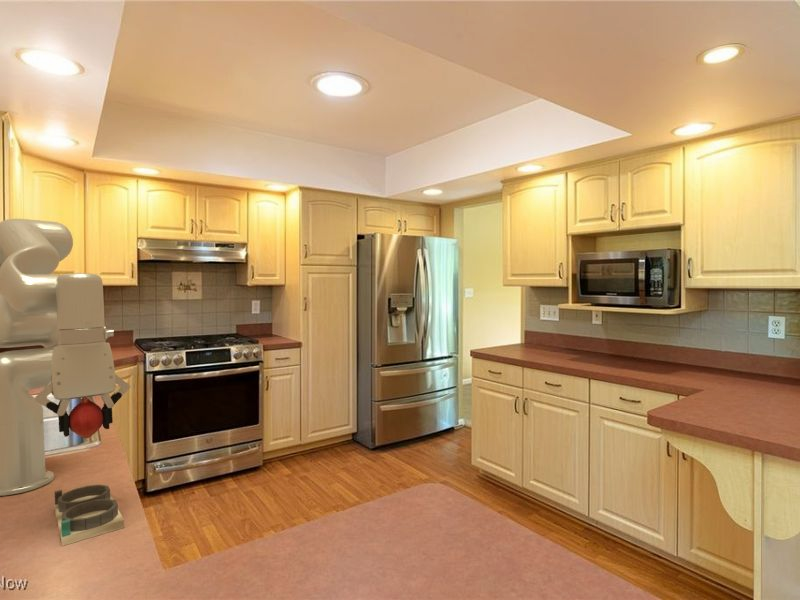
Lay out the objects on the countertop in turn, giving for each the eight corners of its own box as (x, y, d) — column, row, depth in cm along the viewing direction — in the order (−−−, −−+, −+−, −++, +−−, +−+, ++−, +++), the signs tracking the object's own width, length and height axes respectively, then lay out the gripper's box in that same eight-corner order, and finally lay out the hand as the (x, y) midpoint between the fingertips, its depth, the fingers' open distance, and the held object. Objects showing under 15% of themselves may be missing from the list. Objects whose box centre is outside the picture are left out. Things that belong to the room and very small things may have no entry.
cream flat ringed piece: (54, 510, 98) (53, 491, 98) (108, 496, 104) (108, 478, 104) (61, 546, 84) (61, 524, 84) (124, 527, 90) (123, 507, 90)
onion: (73, 436, 93) (71, 395, 93) (107, 432, 95) (105, 392, 95) (64, 444, 88) (62, 401, 88) (100, 440, 90) (99, 398, 90)
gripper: (129, 333, 100) (133, 419, 100) (24, 341, 89) (29, 437, 89) (136, 334, 94) (140, 425, 94) (25, 343, 83) (30, 446, 83)
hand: (86, 430), depth 91 cm, fingers closed on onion, 5 cm apart
